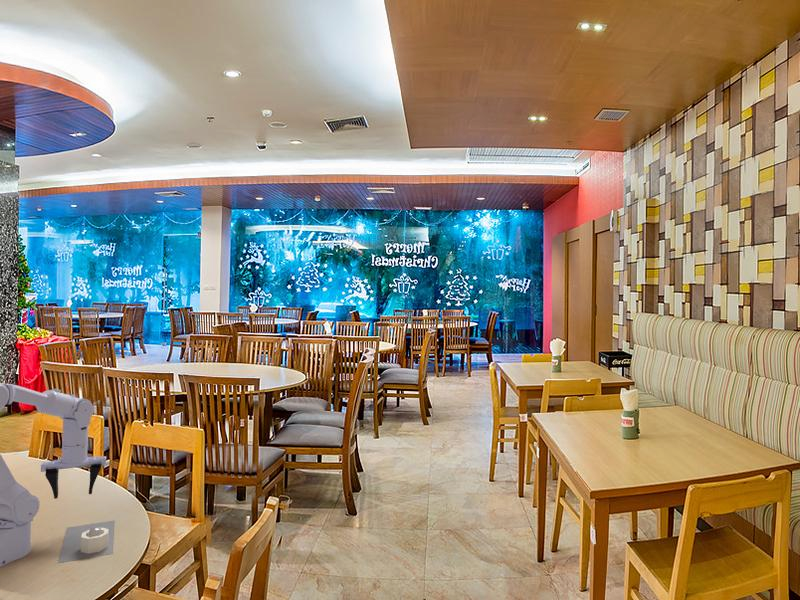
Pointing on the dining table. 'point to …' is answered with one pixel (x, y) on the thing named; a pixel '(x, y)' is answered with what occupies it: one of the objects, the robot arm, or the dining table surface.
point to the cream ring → (94, 542)
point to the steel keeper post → (95, 531)
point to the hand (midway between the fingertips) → (73, 495)
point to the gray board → (73, 542)
